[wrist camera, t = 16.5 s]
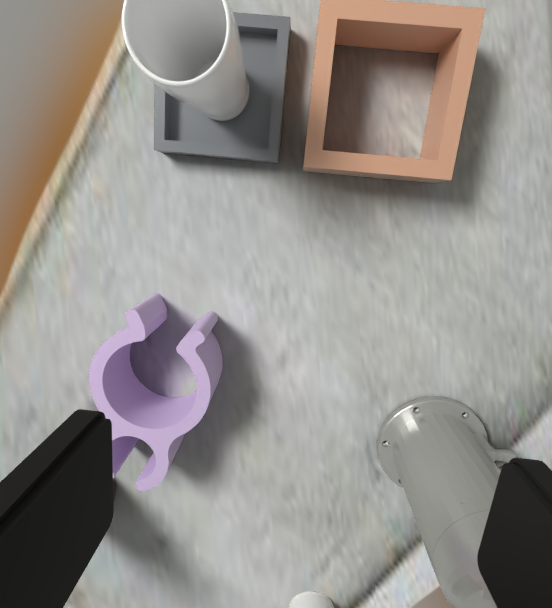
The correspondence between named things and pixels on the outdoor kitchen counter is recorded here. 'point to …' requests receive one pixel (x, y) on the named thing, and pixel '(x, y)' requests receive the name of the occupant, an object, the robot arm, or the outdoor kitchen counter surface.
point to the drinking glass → (190, 52)
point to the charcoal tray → (256, 115)
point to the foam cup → (311, 601)
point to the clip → (144, 403)
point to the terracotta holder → (408, 37)
